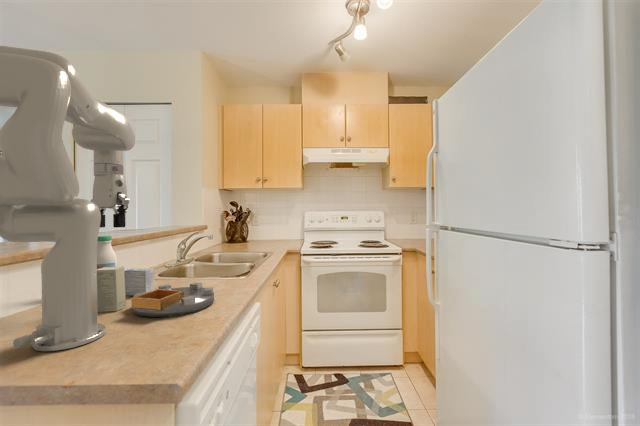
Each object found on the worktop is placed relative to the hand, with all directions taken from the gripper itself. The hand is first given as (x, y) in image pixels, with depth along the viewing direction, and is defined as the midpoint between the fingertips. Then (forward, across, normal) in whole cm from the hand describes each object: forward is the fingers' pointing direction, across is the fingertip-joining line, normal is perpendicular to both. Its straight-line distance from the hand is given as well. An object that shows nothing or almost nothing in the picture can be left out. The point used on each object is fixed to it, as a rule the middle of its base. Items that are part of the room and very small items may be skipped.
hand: (109, 227), depth 91 cm
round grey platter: (+24, -19, -8) cm, 31 cm away
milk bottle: (+23, +16, -8) cm, 29 cm away
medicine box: (+24, +3, -12) cm, 27 cm away
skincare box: (+24, -4, +2) cm, 25 cm away
